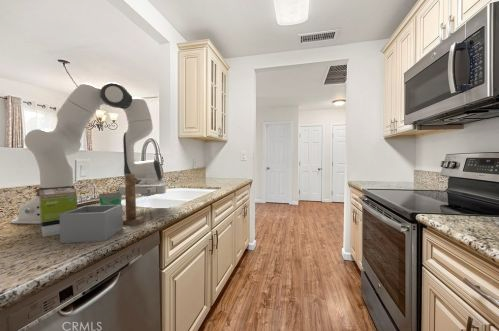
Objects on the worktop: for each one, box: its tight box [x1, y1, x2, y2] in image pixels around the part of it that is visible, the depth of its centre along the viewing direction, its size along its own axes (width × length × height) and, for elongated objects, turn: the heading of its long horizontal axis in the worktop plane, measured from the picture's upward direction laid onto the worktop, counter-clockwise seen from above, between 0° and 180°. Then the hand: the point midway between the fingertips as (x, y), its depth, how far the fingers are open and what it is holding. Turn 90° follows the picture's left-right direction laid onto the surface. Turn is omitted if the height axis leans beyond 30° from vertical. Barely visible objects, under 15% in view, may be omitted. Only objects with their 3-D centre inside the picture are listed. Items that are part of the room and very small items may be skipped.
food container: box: [98, 189, 124, 205], centre depth 110 cm, size 12×6×10 cm, turn 168°
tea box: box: [39, 188, 78, 238], centre depth 83 cm, size 15×10×15 cm
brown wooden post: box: [123, 174, 145, 226], centre depth 90 cm, size 8×5×20 cm, turn 97°
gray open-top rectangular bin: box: [59, 204, 124, 244], centre depth 77 cm, size 13×13×9 cm
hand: (138, 191), depth 99 cm, fingers open, 8 cm apart
